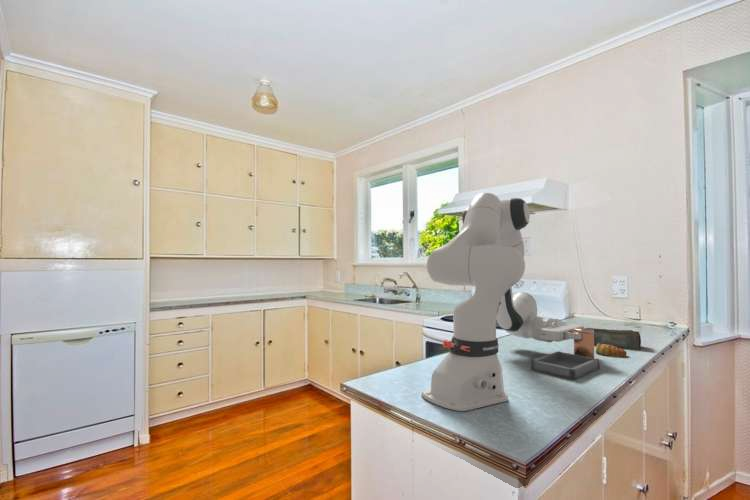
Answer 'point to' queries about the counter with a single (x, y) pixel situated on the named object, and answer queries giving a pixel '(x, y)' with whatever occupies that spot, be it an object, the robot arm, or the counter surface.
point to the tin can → (584, 342)
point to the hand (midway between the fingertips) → (586, 335)
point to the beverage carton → (617, 338)
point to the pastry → (610, 350)
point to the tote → (565, 365)
